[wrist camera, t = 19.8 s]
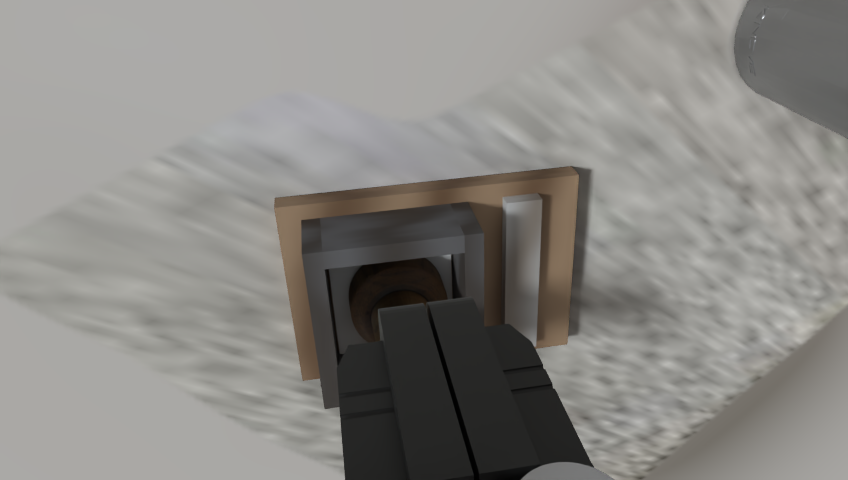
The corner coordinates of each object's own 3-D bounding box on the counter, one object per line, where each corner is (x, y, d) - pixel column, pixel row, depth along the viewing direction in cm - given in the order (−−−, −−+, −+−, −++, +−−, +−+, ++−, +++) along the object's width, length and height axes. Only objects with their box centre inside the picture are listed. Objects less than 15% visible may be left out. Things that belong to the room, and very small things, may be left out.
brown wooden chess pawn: (451, 316, 49) (524, 527, 33) (363, 342, 49) (395, 567, 33) (430, 237, 46) (499, 431, 30) (335, 265, 46) (356, 474, 30)
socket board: (571, 166, 47) (605, 203, 42) (560, 332, 54) (588, 382, 49) (274, 198, 45) (272, 241, 40) (302, 367, 52) (303, 424, 47)
